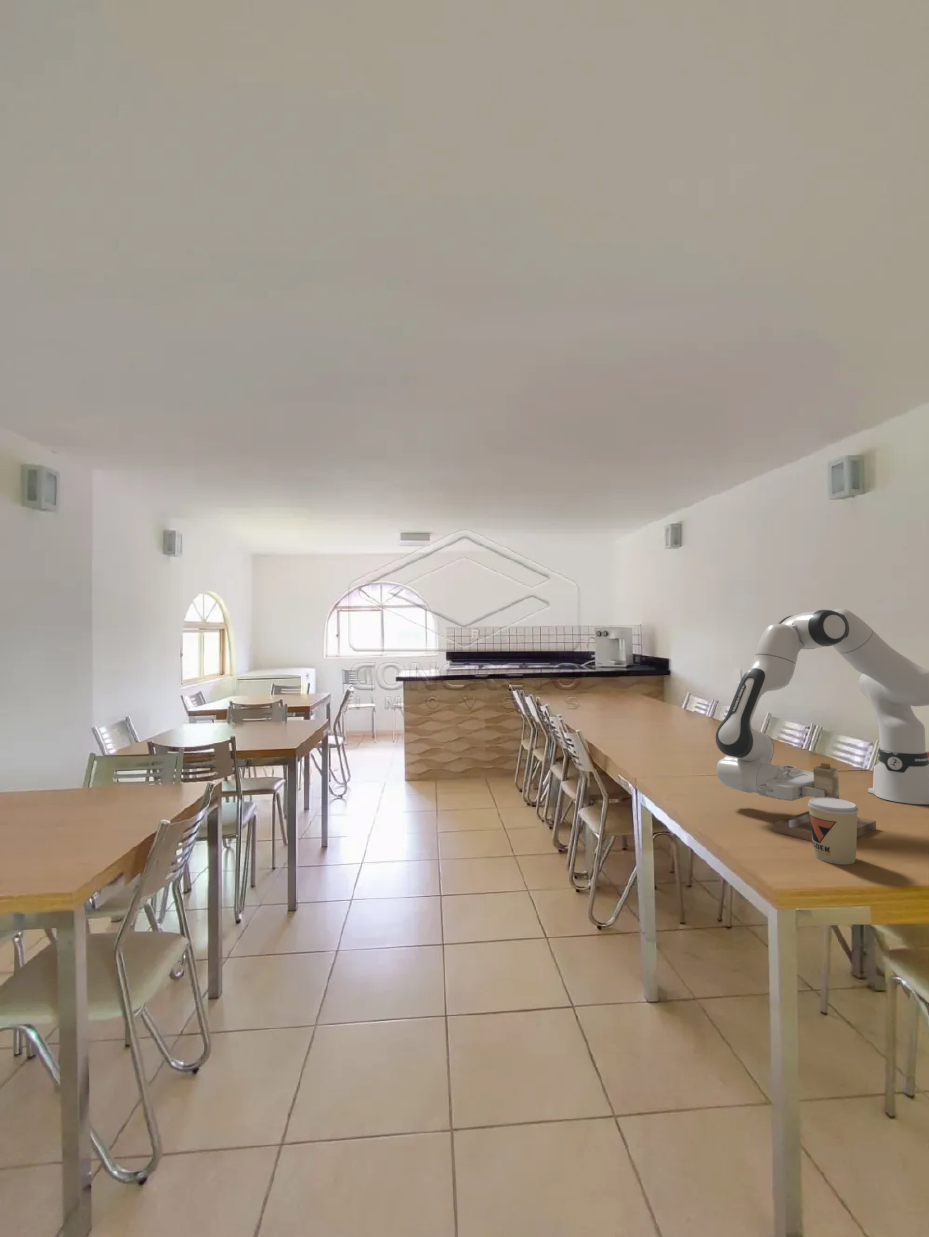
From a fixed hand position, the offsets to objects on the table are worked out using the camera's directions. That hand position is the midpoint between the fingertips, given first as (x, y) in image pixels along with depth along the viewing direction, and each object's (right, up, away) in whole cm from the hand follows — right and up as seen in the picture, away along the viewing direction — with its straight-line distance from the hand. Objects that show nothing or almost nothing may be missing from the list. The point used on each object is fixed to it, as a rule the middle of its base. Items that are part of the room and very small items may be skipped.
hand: (830, 792), depth 147 cm
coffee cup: (-11, -9, -19) cm, 23 cm away
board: (-2, -9, 0) cm, 10 cm away
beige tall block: (0, -7, 0) cm, 7 cm away
